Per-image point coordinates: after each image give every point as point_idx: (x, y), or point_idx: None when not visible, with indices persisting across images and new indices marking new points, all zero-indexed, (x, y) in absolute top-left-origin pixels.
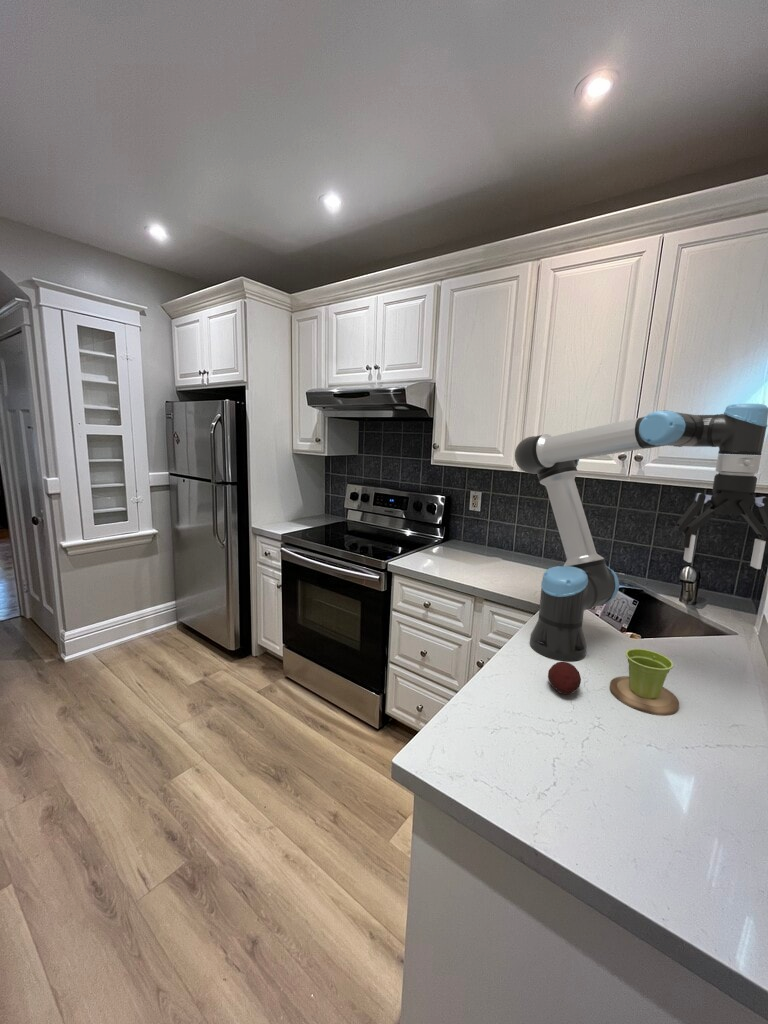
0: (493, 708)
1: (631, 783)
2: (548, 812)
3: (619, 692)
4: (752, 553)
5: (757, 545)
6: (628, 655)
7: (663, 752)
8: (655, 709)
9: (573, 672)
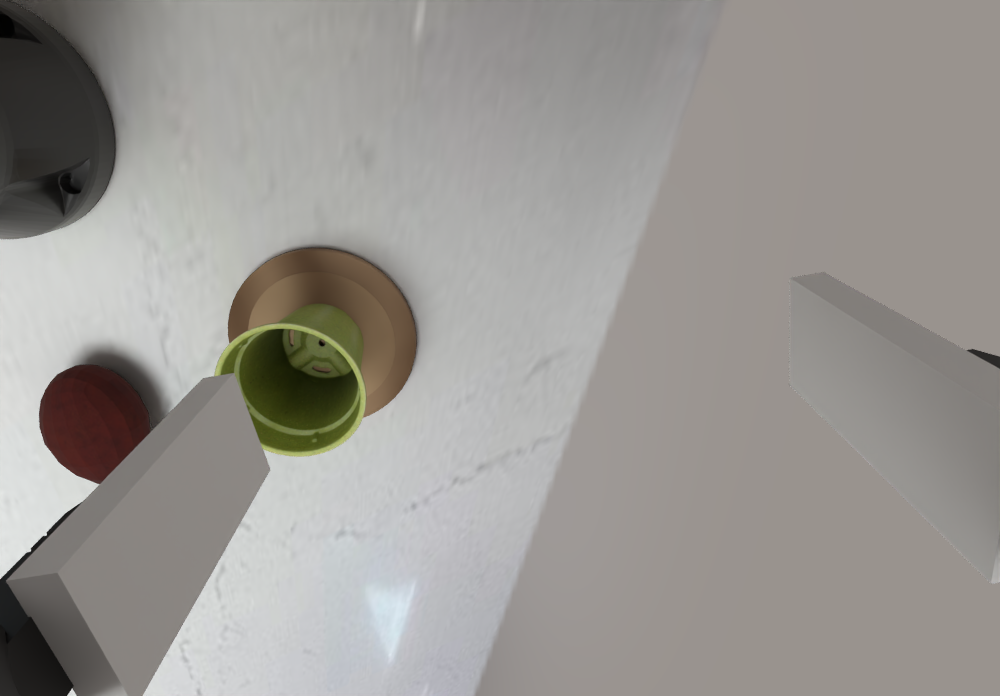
0: (9, 567)
1: (312, 642)
2: None
3: None
4: (861, 330)
5: (938, 457)
6: (228, 368)
7: (367, 542)
8: None
9: (107, 460)
